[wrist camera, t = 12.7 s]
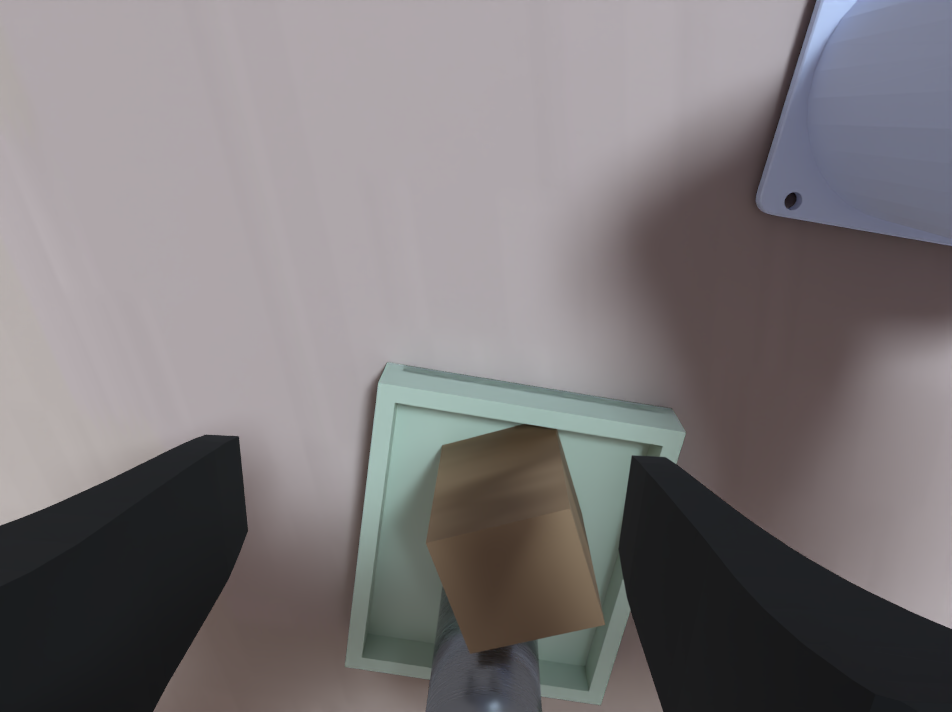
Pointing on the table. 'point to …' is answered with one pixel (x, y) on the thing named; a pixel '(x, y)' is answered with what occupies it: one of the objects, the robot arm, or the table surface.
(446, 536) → the block
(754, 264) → the table surface
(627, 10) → the table surface
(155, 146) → the table surface
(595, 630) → the tray
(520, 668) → the peg
